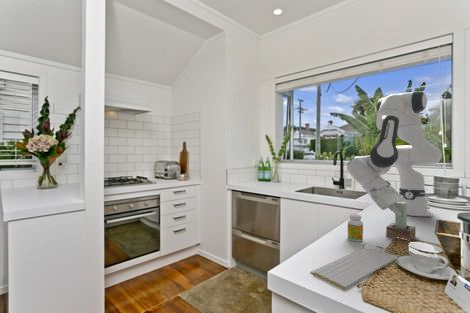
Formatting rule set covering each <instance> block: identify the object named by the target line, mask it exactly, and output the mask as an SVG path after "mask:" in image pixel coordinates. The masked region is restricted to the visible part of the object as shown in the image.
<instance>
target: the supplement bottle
mask: <svg viewBox="0 0 470 313" xmlns="http://www.w3.org/2000/svg"><path fill="white" fill-rule="evenodd" d="M363 238H364V223H363V220H362V215H361V214H357V213H356V214H355V213H352V214H351V213H350V214H349V219H348V220H347V239H348V240H349V241H352V242H357V243H361V242H363V240H364V239H363Z"/></svg>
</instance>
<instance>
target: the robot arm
mask: <svg viewBox="0 0 470 313" xmlns="http://www.w3.org/2000/svg"><path fill="white" fill-rule="evenodd" d="M427 105H428V98H427V95H426V93H425V92H423V91H413V92H412V91H411V92H404V93H402V92H401V93H398V94H390V95H388V96H384V97H382V98H380V99H378V101H377V103H376V108H375V109H376V113H377V116H376V128H377V129H378V130H379V131H380V132H379V136H378V140H377V142H376V143H375V144H374V146H372V148H371V149H370V153H369V155H364V156H354V157H352V158H351V159H350V161H349V162H348V163H347V166H346V170H347V171H348V173H349V175H350V176H351V177H352V178H353V179H354V180H355V181H356V182H357V183H358V184H360V185H361V187H362V188H363V190H364V191H365V192H366V193H367V194H368V195H369V196H370V198H371V199H372V201H373V202H374V203H375V204H376V205H377V206H378V208H380V209H381V210H382V211H385V210H387V209H389V210H390V211H391V212H393V213H394V214H395V213H396V214H397V215H398V216H401V215H402V214H403V213H402V212H401V211H400V210H398V209H397V208H396V202H398V201H399V202H407V216H412V217H413V216H414V217H431V218H432V217H433V211H432V210H431V209H430V207H429V206H428V204H429V201H428V200H427V198H426V190H425V176H424V175H423V174H422V173H421V172H419V171H417V170H415V169H414V168H413V166H412V165H415V166H417V165H418V166H431V165H437V164H438V163H439V162H440V161H441V160H442V157H443V154H442V151H441V149H440V148H439V147H438V146H436V145H434V144H433V143H431V142H429V140H428V139H427V138H426V137H425V134H424V133H423V128H422V120H421V114H420V113H421V112H423V111H424V110H425V109H426V108H427ZM397 137H398V139H399V140H401V141H403V142H406V143H407V144H408V145H397V144H396V143H397V141H396V140H397ZM393 166H394V168H396V170H397V172H398V174H399V187H398V189H399V190H398V191H397V190H396V189H395V188H394V187H393V186H392V183H391V182H390V181H388V180H385V178H383V177H382V175H385V174H386V173H387V172H389V171H390V170H391V168H392V167H393Z"/></svg>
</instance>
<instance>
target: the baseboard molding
mask: <svg viewBox="0 0 470 313" xmlns="http://www.w3.org/2000/svg"><path fill="white" fill-rule="evenodd" d="M365 245H368V246H370V247H365ZM371 246H372V247H374V248H372V247H371ZM361 247H362V248H361V249H359V250H356V251H354V252H352V253H349V254H347V255H345V256H343V257H340V258H338V259H336V260H334V261H332V262H330V263H329V262H328V263H327V264H324V265H322V266H320V267H318V268H316V269H314V270H311V271H310V272H309V273H310V274H311V275H314V276H316V277H318V278H320V279H322V280H324V281H325V282H327V283H330V284H331V285H334V286H336V287H338V288H340V289H342V290H343V291H346V290H347V289H349V288H350V287H352V286H355V284H358V283H359V282H361V281H363V280H365V279H367V278H368V277H370V276H371V275H373V274H372V272H374V271H375V270H377V269H380V268H381V269H383V268H384V266H385V267H386V266H388V265H390V264H391V263H393V262H395V261H396V260H397V259H396V258H398V257H399V256H398V255H399V253H398V252H395V254H392V253H389V252H388V250H386V249H384V247H383V246H380V245H379V246H378V245H376V248H379V249H381V250H378V249H376V248H375V246H373V245H370V244H368V243H367V242H366V243H364V244H361ZM382 250H384V251H382ZM385 251H387V252H385ZM396 254H397V255H396ZM395 259H396V260H395ZM398 259H399V258H398ZM394 260H395V261H394ZM389 263H390V264H389ZM382 267H383V268H382ZM381 269H380V270H381Z"/></svg>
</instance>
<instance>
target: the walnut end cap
mask: <svg viewBox="0 0 470 313" xmlns="http://www.w3.org/2000/svg"><path fill="white" fill-rule="evenodd" d="M385 231H386V232H385V234H386V235H385V236H386V237H387V238H392V239H395V238H397V237H399V238H404V239H407V240H409V241H410V240H411V241H412V240H413V239H414V238H415V237H416V226H412V225H408V224H407V230H405V229H400V228H395V222H392V223H390V224H389V225H387V226H386V230H385ZM411 241H410V242H411Z"/></svg>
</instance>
